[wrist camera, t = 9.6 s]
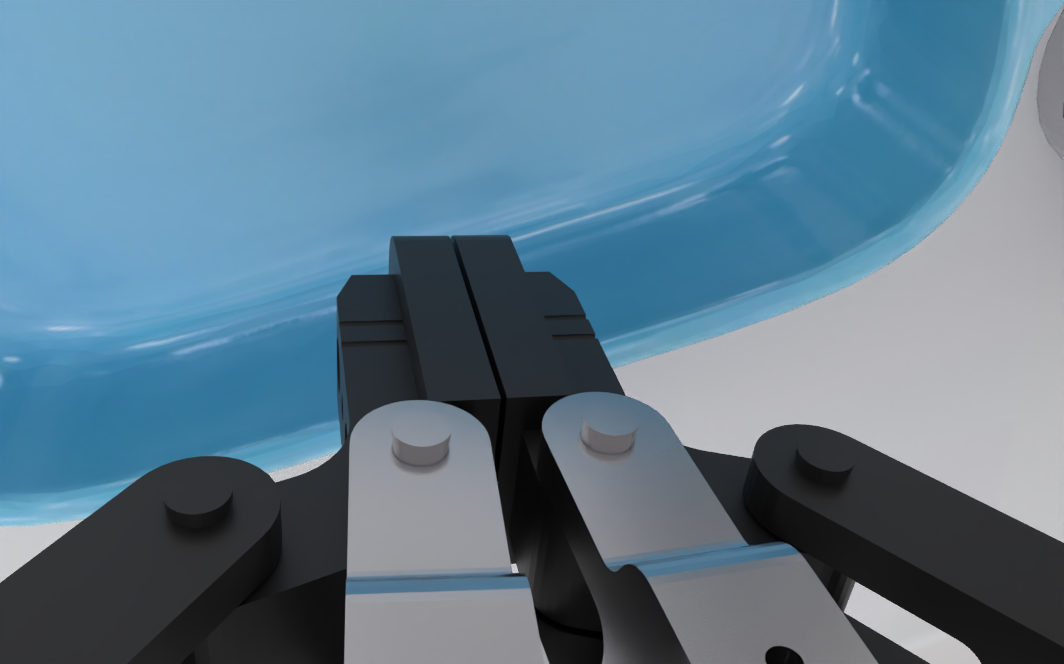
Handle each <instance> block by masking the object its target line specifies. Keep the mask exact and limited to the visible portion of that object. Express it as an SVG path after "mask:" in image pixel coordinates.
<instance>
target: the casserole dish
mask: <svg viewBox="0 0 1064 664" xmlns="http://www.w3.org/2000/svg"><path fill="white" fill-rule="evenodd" d="M1063 4H1064V0H0V526H31V525H41V524H49V523H57V522H65V521H73V520H81V519H86V518H87V517H88V516H90V515H91V514H92V513H94V512H95V511H96V510H98V509H99V508H100V507H102V506H103V505H104V504H106V503H107V502H108V501H110V500H111V499H112V498H114V497H115V496H116V495H118V494H119V493H120V492H122V491H123V490H124V489H126V488H127V487H128V486H130V485H131V484H132V483H134V482H135V481H136V480H138V479H139V478H140V477H142V476H143V475H145V474H146V473H148V472H150V471H152V470H154V469H156V468H158V467H160V466H162V465H165V464H168V463H170V462H173V461H177V460H181V459H185V458H191V457H199V456H222V457H230V458H235V459H240V460H243V461H246V462H248V463H251V464H253V465H255V466H257V467H259V468H261V469H262V470H263V471H264V472H266V473H270V472H274V471H277V470H281V469H284V468H288V467H291V466H294V465H297V464H301V463H304V462H307V461H310V460H314V459H317V458H320V457H323V456H327V455H330V454H333V453H336V452H338V451H339V450H340V448H341V447H342V445H341V437H340V423H339V414H338V403H337V296H338V294H339V293H340V291H341V290H342V288H343V287H344V285H345V284H346V282H347V281H348V279H349V278H350V276H351V275H380V274H388V271H389V246H390V239H391V236H449V237H450V239H451V236H452V235H509V236H510V238H511V240H512V242H513V245H514V247H515V249H516V252H517V254H518V256H519V259H520V261H521V264H522V266H523V268H524V271H525V272H551V273H552V274H553V275H554V276H556V277H557V278H558V279H559V280H561V281H562V282H563V283H565V284H566V285H567V286H568V287H570V288H571V289H572V290H573V291H575V293H576V295H577V297H578V299H579V301H580V303H581V305H582V307H583V309H584V311H585V314H586V319H588V320H589V322H590V324H591V326H592V328H593V330H594V332H595V339H596V338H598V340H599V342H600V344H601V346H602V348H603V350H604V352H605V354H606V356H607V359H608V361H609V363H610V365H611V367H612V369H614V368H617V367H620V366H623V365H627V364H630V363H633V362H636V361H639V360H643V359H646V358H649V357H652V356H656V355H659V354H662V353H665V352H668V351H672V350H675V349H678V348H681V347H684V346H688V345H691V344H694V343H697V342H700V341H703V340H707V339H710V338H713V337H716V336H719V335H722V334H725V333H728V332H731V331H734V330H737V329H739V328H742V327H745V326H748V325H751V324H754V323H757V322H759V321H762V320H765V319H768V318H771V317H774V316H777V315H779V314H782V313H785V312H788V311H790V310H793V309H795V308H798V307H800V306H802V305H805V304H807V303H810V302H812V301H814V300H817V299H819V298H822V297H824V296H826V295H829V294H831V293H833V292H836V291H838V290H840V289H843V288H845V287H847V286H850V285H852V284H853V283H855V282H857V281H859V280H861V279H863V278H864V277H866V276H868V275H870V274H872V273H874V272H875V271H877V270H879V269H881V268H883V267H884V266H886V265H888V264H890V263H891V262H893V261H894V260H896V259H897V258H898V257H900V256H901V255H903V254H904V253H906V252H907V251H909V250H910V249H912V248H913V247H914V246H916V245H917V244H918V243H920V242H921V241H922V240H923V239H925V238H926V237H927V236H928V235H930V234H931V233H932V232H933V231H934V230H935V229H936V228H937V227H938V226H939V225H941V224H942V223H943V222H944V221H945V220H946V219H947V218H948V217H949V216H950V215H951V214H952V213H953V212H954V211H955V210H956V208H957V207H958V206H959V205H960V204H961V203H962V201H963V200H964V199H965V198H966V197H967V196H968V194H969V193H970V192H971V191H972V190H973V188H974V187H975V186H976V184H977V183H978V182H979V180H980V179H981V178H982V176H983V175H984V174H985V172H986V171H987V169H988V167H989V166H990V164H991V162H992V161H993V159H994V157H995V155H996V153H997V151H998V149H999V148H1000V146H1001V144H1002V142H1003V139H1004V137H1005V135H1006V133H1007V131H1008V129H1009V126H1010V124H1011V122H1012V119H1013V116H1014V113H1015V111H1016V108H1017V105H1018V102H1019V99H1020V96H1021V93H1022V91H1023V88H1024V84H1025V81H1026V78H1027V74H1028V71H1029V68H1030V64H1031V61H1032V57H1033V54H1034V51H1035V48H1036V46H1037V44H1038V42H1039V40H1040V38H1041V36H1042V34H1043V32H1044V30H1045V29H1046V27H1047V26H1048V25H1049V23H1050V22H1051V20H1052V19H1053V18H1054V16H1055V15H1056V13H1057V12H1058V11H1059V9H1060V8H1061V7H1062V5H1063Z"/></svg>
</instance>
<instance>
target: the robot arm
mask: <svg viewBox="0 0 1064 664" xmlns="http://www.w3.org/2000/svg"><path fill="white" fill-rule="evenodd" d="M1037 104H1038V112H1039V120H1040V124H1041V127H1042V129H1043V131H1044V134H1045V136H1046V139H1047V141H1048V143H1049V144H1050V145H1051V147H1052V148H1053V149H1054V150H1055V151H1056V152H1057V154H1058V155H1059V156H1060V157H1061V158H1062V159H1064V10H1063V12H1062V13H1061V15H1060V17H1059V19H1058V22H1057V24H1056V26H1055V28H1054V30H1053V32H1052V34H1051V37H1050V39H1049V41H1048V43H1047V46H1046V50H1045V53H1044V57H1043V60H1042V64H1041V67H1040V71H1039V80H1038V91H1037ZM337 403H338V414H339V423H340V437H341V445H342V447H341V448H340V450H339V451H338V452H337V453H336V454H335V455H334V456H333V457H332V458H331V459H329V460H328V461H327V462H325V463H324V464H322V465H321V466H319V467H317V468H315V469H313V470H311V471H309V472H307V473H304V474H302V475H299V476H296V477H293V478H290V479H286V480H283V481H280V482H276V483H275V482H274V481H273V479H272V478H271V477H270V476H269V475H268V474H267V473H266V472H264V471H263V470H262V469H261V468H259V467H257V466H255V465H253V464H251V463H248V462H246V461H243V460H240V459H235V458H230V457H222V456H199V457H191V458H185V459H181V460H177V461H173V462H170V463H168V464H165V465H162V466H160V467H158V468H156V469H154V470H152V471H150V472H148V473H146V474H145V475H143V476H142V477H140V478H139V479H138V480H136V481H135V482H134V483H132V484H131V485H130V486H128V487H127V488H126V489H124V490H123V491H122V492H120V493H119V494H118V495H116V496H115V497H114V498H112V499H111V500H110V501H108V502H107V503H106V504H104V505H103V506H102V507H100V508H99V509H98V510H96V511H95V512H94V513H92V514H91V515H90V516H88V517H87V518H86V519H84V520H83V521H82V522H80V523H79V524H78V525H76V526H75V527H74V528H72V529H71V530H70V531H68V532H67V533H66V534H65V535H63V536H62V537H61V538H59V539H58V540H57V541H55V542H54V543H53V544H51V545H50V546H49V547H47V548H46V549H45V550H43V551H42V552H41V553H39V554H38V555H37V556H35V557H34V558H33V559H31V560H30V561H29V562H27V563H26V564H25V565H23V566H22V567H21V568H19V569H18V570H17V571H15V572H14V573H13V574H11V575H10V576H9V577H7V578H6V579H5V580H3V581H2V582H1V583H0V664H930V663H928V662H926V661H925V660H923V659H921V658H919V657H918V656H916V655H914V654H913V653H911V652H909V651H908V650H906V649H904V648H903V647H901V646H899V645H898V644H896V643H894V642H893V641H891V640H889V639H888V638H886V637H884V636H882V635H881V634H879V633H877V632H876V631H874V630H872V629H871V628H869V627H867V626H866V625H864V624H862V623H861V622H859V621H857V620H855V619H854V618H852V617H850V616H849V615H847V614H845V613H844V610H845V607H846V605H847V602H848V600H849V597H850V594H851V592H852V589H853V587H854V584H855V582H858V583H859V584H861V585H863V586H865V587H866V588H868V589H870V590H872V591H873V592H875V593H877V594H879V595H880V596H882V597H884V598H886V599H887V600H889V601H891V602H893V603H894V604H896V605H898V606H900V607H901V608H903V609H905V610H907V611H908V612H910V613H912V614H914V615H915V616H917V617H919V618H921V619H922V620H924V621H926V622H928V623H929V624H931V625H933V626H935V627H936V628H938V629H940V630H942V631H943V632H945V633H947V634H949V635H950V636H952V637H954V638H956V639H957V640H959V641H960V642H962V643H964V644H965V645H966V646H967V647H968V648H970V649H971V650H972V651H973V653H975V655H976V656H977V657H978V659H979V660H980V662H981V664H1064V543H1063V542H1061V541H1059V540H1057V539H1055V538H1053V537H1051V536H1049V535H1047V534H1045V533H1043V532H1040V531H1038V530H1036V529H1034V528H1032V527H1030V526H1028V525H1026V524H1024V523H1022V522H1020V521H1018V520H1016V519H1014V518H1012V517H1010V516H1008V515H1006V514H1004V513H1002V512H1000V511H998V510H996V509H994V508H992V507H990V506H988V505H986V504H984V503H982V502H980V501H978V500H976V499H974V498H972V497H970V496H968V495H966V494H964V493H962V492H960V491H958V490H956V489H954V488H952V487H950V486H948V485H946V484H944V483H942V482H940V481H938V480H936V479H934V478H932V477H930V476H928V475H925V474H923V473H921V472H919V471H917V470H915V469H913V468H911V467H909V466H907V465H905V464H903V463H901V462H899V461H897V460H895V459H893V458H891V457H889V456H887V455H885V454H883V453H881V452H879V451H877V450H875V449H873V448H871V447H869V446H867V445H865V444H863V443H861V442H859V441H857V440H855V439H853V438H851V437H849V436H846V435H844V434H842V433H840V432H837V431H834V430H831V429H827V428H823V427H819V426H812V425H800V424H794V425H784V426H780V427H776V428H774V429H771V430H769V431H767V432H766V433H764V434H763V435H762V436H761V437H760V438H759V439H758V441H757V443H756V445H755V448H754V451H753V455H752V458H751V459H750V458H744V457H738V456H732V455H726V454H720V453H714V452H708V451H703V450H698V449H693V448H690V447H687V446H683V445H682V443H681V442H680V440H679V438H678V437H677V435H676V434H675V432H674V431H673V429H672V428H671V426H670V425H669V423H668V422H667V421H666V420H665V418H664V417H663V416H662V415H660V414H659V413H658V412H657V411H656V410H654V409H653V408H651V407H650V406H648V405H646V404H644V403H642V402H640V401H638V400H635V399H633V398H630V397H627V396H626V395H625V393H624V391H623V389H622V387H621V385H620V383H619V381H618V379H617V377H616V375H615V373H614V371H613V369H612V367H611V365H610V363H609V361H608V359H607V356H606V354H605V352H604V350H603V348H602V346H601V344H600V342H599V340H598V338H596V339H595V332H594V330H593V328H592V326H591V324H590V322H589V320H588V319H586V314H585V311H584V309H583V307H582V305H581V303H580V301H579V299H578V297H577V295H576V293H575V291H573V290H572V289H571V288H570V287H568V286H567V285H566V284H565V283H563V282H562V281H561V280H559V279H558V278H557V277H556V276H554V275H553V274H552V273H551V272H525V271H524V268H523V266H522V264H521V261H520V259H519V256H518V254H517V252H516V249H515V247H514V245H513V242H512V240H511V238H510V236H509V235H452V236H451V239H450V237H449V236H391V239H390V246H389V271H388V274H380V275H351V276H350V278H349V279H348V281H347V282H346V284H345V285H344V287H343V288H342V290H341V291H340V293H339V294H338V296H337ZM515 563H516V564H517V568H518V572H519V573H512V568H511V564H515Z"/></svg>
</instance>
